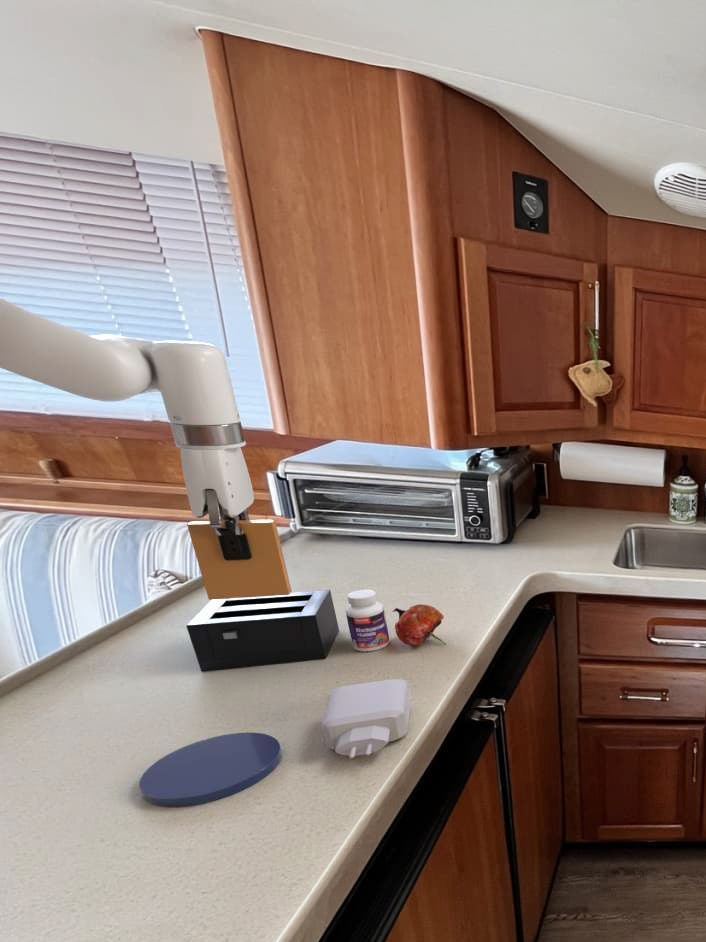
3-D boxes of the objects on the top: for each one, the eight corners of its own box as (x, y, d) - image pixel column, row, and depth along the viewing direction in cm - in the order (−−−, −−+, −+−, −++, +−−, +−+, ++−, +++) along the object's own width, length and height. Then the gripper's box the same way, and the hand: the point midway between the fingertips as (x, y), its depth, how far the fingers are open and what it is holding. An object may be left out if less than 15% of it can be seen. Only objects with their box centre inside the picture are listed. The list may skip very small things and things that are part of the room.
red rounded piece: (452, 644, 117) (407, 609, 115) (467, 622, 113) (421, 585, 112) (422, 666, 110) (374, 629, 109) (437, 643, 107) (387, 604, 105)
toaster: (199, 674, 97) (183, 627, 94) (226, 640, 107) (213, 597, 104) (324, 661, 104) (314, 617, 101) (339, 630, 114) (330, 589, 111)
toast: (208, 599, 97) (186, 524, 92) (212, 596, 98) (191, 521, 94) (289, 595, 101) (272, 522, 96) (291, 591, 102) (275, 519, 98)
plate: (119, 817, 70) (116, 809, 70) (169, 750, 81) (166, 742, 81) (265, 793, 76) (262, 785, 75) (294, 732, 86) (292, 725, 86)
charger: (319, 780, 78) (337, 716, 91) (405, 763, 82) (411, 704, 95) (310, 748, 77) (330, 687, 89) (399, 733, 81) (406, 677, 93)
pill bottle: (358, 655, 106) (347, 602, 103) (349, 644, 110) (337, 592, 106) (394, 646, 110) (385, 595, 106) (384, 635, 113) (374, 585, 110)
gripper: (196, 425, 95) (228, 542, 102) (149, 444, 82) (188, 576, 89) (259, 427, 98) (285, 540, 105) (223, 445, 85) (255, 573, 92)
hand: (241, 556), depth 97 cm, fingers closed on toast, 1 cm apart
